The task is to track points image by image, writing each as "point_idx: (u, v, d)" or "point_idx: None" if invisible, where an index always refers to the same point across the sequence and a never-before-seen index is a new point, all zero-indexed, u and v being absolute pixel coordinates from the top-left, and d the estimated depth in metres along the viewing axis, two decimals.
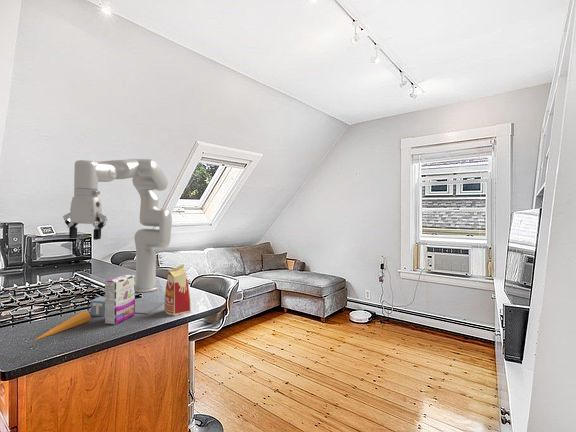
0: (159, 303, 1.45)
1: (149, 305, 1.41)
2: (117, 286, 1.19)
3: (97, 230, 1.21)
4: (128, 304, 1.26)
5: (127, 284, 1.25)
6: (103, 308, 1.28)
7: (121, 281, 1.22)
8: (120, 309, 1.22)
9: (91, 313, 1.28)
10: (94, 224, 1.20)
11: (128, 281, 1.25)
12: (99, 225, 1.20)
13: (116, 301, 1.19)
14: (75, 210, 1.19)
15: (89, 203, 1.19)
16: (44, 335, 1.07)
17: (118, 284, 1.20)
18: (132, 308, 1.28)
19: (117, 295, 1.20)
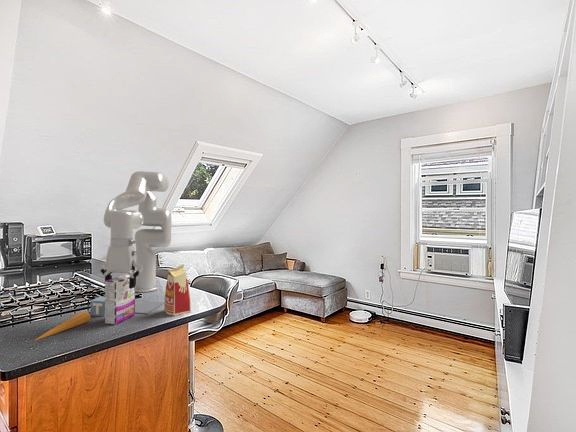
0: (159, 303, 1.45)
1: (149, 305, 1.41)
2: (117, 286, 1.19)
3: (132, 279, 1.23)
4: (128, 304, 1.26)
5: (127, 284, 1.25)
6: (103, 308, 1.28)
7: (121, 281, 1.22)
8: (120, 309, 1.22)
9: (91, 313, 1.28)
10: (130, 273, 1.22)
11: (128, 281, 1.25)
12: (135, 274, 1.23)
13: (116, 301, 1.19)
14: (111, 260, 1.22)
15: (125, 252, 1.21)
16: (44, 335, 1.07)
17: (118, 284, 1.20)
18: (132, 308, 1.28)
19: (117, 295, 1.20)
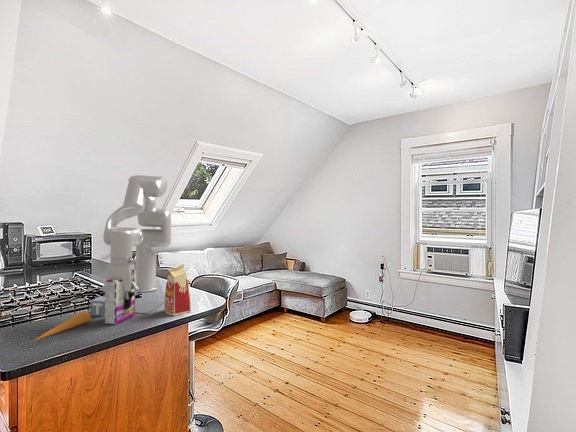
0: (159, 303, 1.45)
1: (149, 305, 1.41)
2: (117, 286, 1.19)
3: (128, 300, 1.24)
4: None
5: None
6: (103, 308, 1.28)
7: (121, 281, 1.21)
8: (120, 309, 1.21)
9: (91, 313, 1.28)
10: (126, 294, 1.23)
11: None
12: (130, 295, 1.23)
13: (116, 301, 1.19)
14: None
15: (125, 272, 1.22)
16: (44, 335, 1.07)
17: (118, 284, 1.20)
18: (132, 308, 1.28)
19: (117, 295, 1.20)
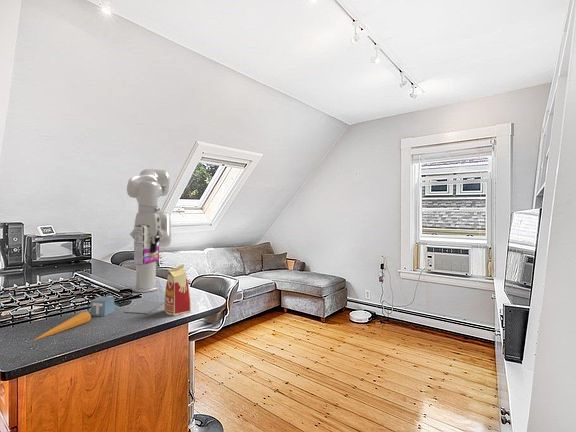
0: (159, 303, 1.45)
1: (149, 305, 1.41)
2: (145, 230, 1.33)
3: (154, 244, 1.38)
4: None
5: None
6: (103, 308, 1.28)
7: (148, 226, 1.36)
8: (147, 251, 1.36)
9: (91, 313, 1.28)
10: (152, 239, 1.37)
11: None
12: (155, 240, 1.37)
13: (144, 243, 1.33)
14: None
15: (151, 218, 1.36)
16: (44, 335, 1.07)
17: (146, 228, 1.34)
18: (156, 253, 1.42)
19: (145, 238, 1.34)
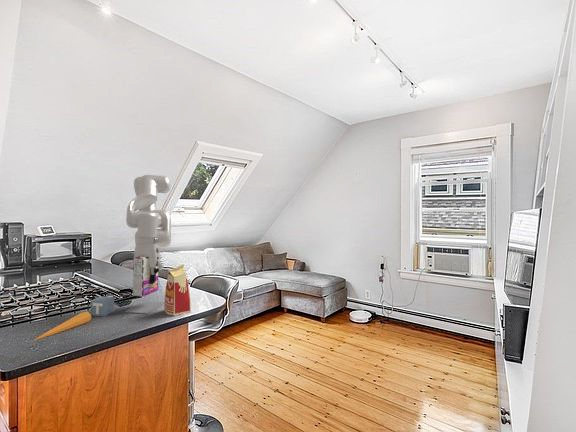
0: (159, 303, 1.45)
1: (149, 305, 1.41)
2: (144, 262, 1.34)
3: (153, 275, 1.38)
4: None
5: None
6: (103, 308, 1.28)
7: (147, 258, 1.36)
8: (147, 283, 1.36)
9: (91, 313, 1.28)
10: (152, 270, 1.37)
11: None
12: (155, 271, 1.38)
13: (143, 275, 1.34)
14: None
15: (151, 250, 1.36)
16: (43, 335, 1.07)
17: (145, 260, 1.35)
18: (156, 283, 1.42)
19: (144, 270, 1.34)
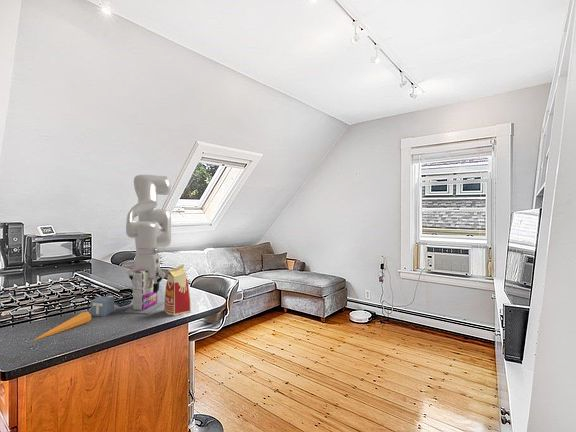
0: (159, 303, 1.45)
1: None
2: (144, 277, 1.34)
3: (156, 284, 1.38)
4: (152, 293, 1.41)
5: None
6: (103, 308, 1.28)
7: (147, 272, 1.36)
8: (146, 297, 1.37)
9: (91, 313, 1.28)
10: (154, 279, 1.38)
11: None
12: (158, 280, 1.38)
13: (143, 289, 1.34)
14: (138, 267, 1.37)
15: (150, 260, 1.36)
16: (43, 335, 1.06)
17: (145, 274, 1.35)
18: (155, 296, 1.43)
19: (144, 284, 1.35)
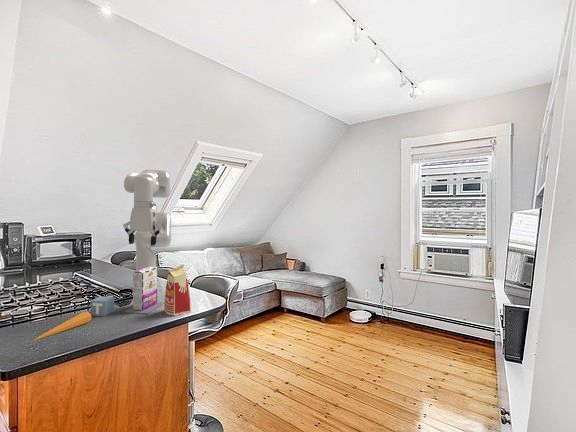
0: (159, 303, 1.45)
1: None
2: (144, 277, 1.34)
3: (154, 237, 1.39)
4: (152, 292, 1.41)
5: (152, 275, 1.40)
6: (103, 308, 1.28)
7: (147, 272, 1.36)
8: (146, 297, 1.37)
9: (91, 313, 1.28)
10: (151, 232, 1.38)
11: (152, 272, 1.40)
12: (155, 233, 1.39)
13: (143, 289, 1.34)
14: (135, 220, 1.37)
15: (147, 213, 1.37)
16: (43, 335, 1.06)
17: (145, 274, 1.35)
18: (155, 296, 1.43)
19: (144, 284, 1.35)
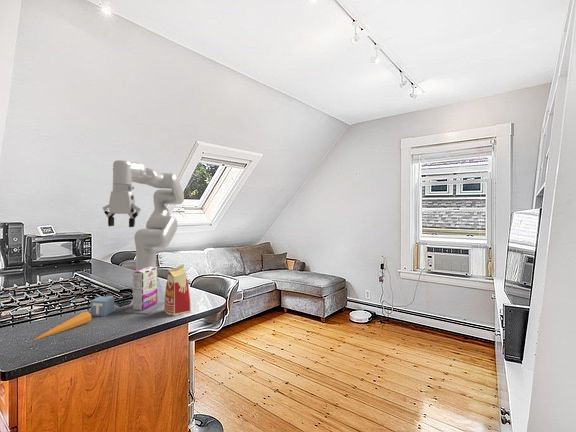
0: (159, 303, 1.45)
1: None
2: (144, 277, 1.34)
3: (132, 219, 1.43)
4: (152, 292, 1.41)
5: (152, 275, 1.40)
6: (103, 308, 1.28)
7: (147, 272, 1.36)
8: (146, 297, 1.37)
9: (91, 313, 1.28)
10: (129, 214, 1.43)
11: (152, 272, 1.40)
12: (133, 215, 1.43)
13: (143, 289, 1.34)
14: (113, 202, 1.42)
15: (125, 196, 1.42)
16: (43, 335, 1.06)
17: (145, 274, 1.35)
18: (155, 296, 1.43)
19: (144, 284, 1.35)
